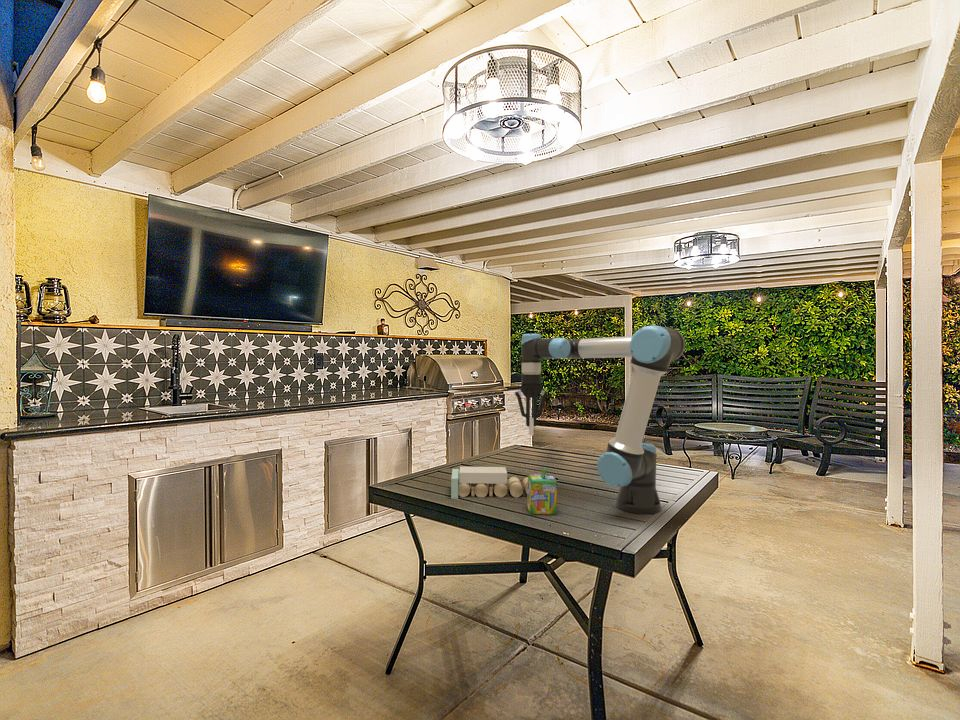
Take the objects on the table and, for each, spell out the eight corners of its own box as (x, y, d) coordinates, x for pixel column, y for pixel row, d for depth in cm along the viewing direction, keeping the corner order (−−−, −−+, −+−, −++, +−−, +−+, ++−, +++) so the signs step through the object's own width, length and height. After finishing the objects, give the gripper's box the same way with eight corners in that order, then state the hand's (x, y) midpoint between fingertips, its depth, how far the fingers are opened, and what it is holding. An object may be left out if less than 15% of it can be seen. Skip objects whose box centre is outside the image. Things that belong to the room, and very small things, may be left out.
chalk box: (526, 506, 173) (527, 464, 173) (552, 506, 174) (553, 464, 173) (529, 515, 164) (530, 470, 164) (557, 515, 164) (557, 471, 164)
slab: (507, 483, 184) (507, 473, 184) (459, 483, 184) (459, 472, 184) (505, 477, 194) (505, 466, 194) (459, 476, 194) (459, 466, 194)
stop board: (457, 498, 181) (458, 478, 181) (451, 498, 181) (451, 478, 181) (458, 487, 197) (458, 468, 197) (452, 487, 197) (452, 468, 197)
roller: (490, 494, 184) (484, 482, 184) (478, 499, 184) (472, 487, 183) (488, 486, 195) (483, 475, 195) (477, 491, 194) (472, 480, 194)
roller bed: (539, 497, 184) (539, 484, 184) (456, 496, 183) (456, 483, 183) (534, 489, 195) (535, 476, 195) (457, 488, 194) (457, 476, 194)
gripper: (546, 373, 193) (546, 433, 193) (513, 373, 193) (513, 433, 193) (549, 374, 186) (549, 436, 186) (515, 374, 185) (515, 436, 185)
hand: (531, 434), depth 189 cm, fingers closed
